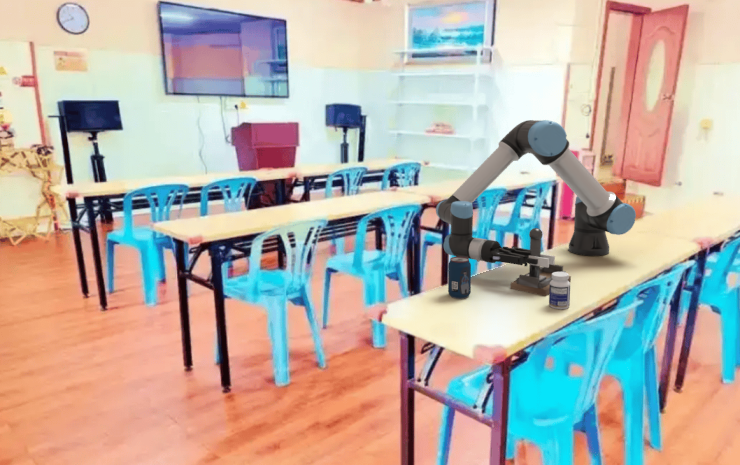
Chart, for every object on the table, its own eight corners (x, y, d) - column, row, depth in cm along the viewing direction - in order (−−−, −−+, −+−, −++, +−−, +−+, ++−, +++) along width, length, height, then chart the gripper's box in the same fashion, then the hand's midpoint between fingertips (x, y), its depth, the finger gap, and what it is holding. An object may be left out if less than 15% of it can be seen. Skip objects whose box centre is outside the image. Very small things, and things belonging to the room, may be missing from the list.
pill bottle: (554, 301, 167) (556, 269, 165) (572, 306, 163) (574, 273, 161) (545, 306, 163) (546, 274, 161) (563, 311, 159) (565, 277, 157)
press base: (535, 275, 193) (536, 261, 192) (572, 282, 184) (572, 267, 183) (509, 288, 180) (509, 273, 179) (547, 296, 171) (547, 280, 170)
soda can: (454, 290, 179) (454, 254, 176) (474, 294, 175) (474, 257, 173) (444, 297, 174) (444, 260, 171) (464, 300, 170) (464, 263, 167)
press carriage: (529, 279, 182) (531, 225, 178) (545, 282, 178) (548, 227, 174) (522, 283, 178) (524, 228, 174) (538, 286, 174) (540, 230, 171)
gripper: (497, 256, 195) (562, 267, 179) (472, 266, 183) (538, 279, 168) (498, 235, 193) (563, 244, 178) (472, 244, 182) (539, 255, 166)
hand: (551, 261), depth 173 cm, fingers closed on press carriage, 3 cm apart
